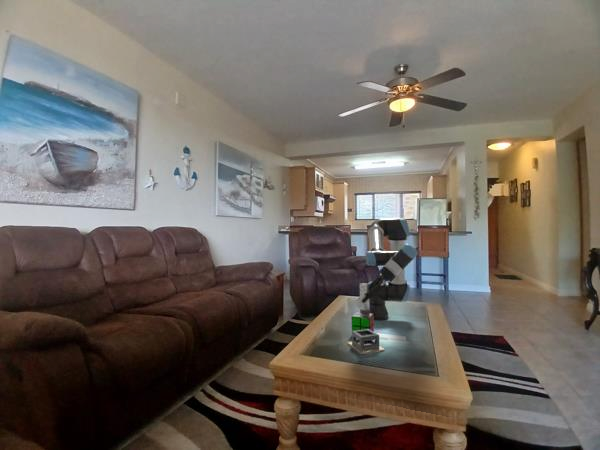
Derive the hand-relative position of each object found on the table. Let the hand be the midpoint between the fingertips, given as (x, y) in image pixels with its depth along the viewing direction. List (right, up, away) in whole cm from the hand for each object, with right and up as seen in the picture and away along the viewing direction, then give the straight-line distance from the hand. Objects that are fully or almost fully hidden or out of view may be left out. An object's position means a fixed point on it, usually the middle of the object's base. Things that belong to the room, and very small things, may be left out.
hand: (356, 305), depth 146 cm
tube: (+4, -6, 0) cm, 7 cm away
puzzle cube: (+7, -21, +20) cm, 30 cm away
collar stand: (+4, -20, -1) cm, 20 cm away
